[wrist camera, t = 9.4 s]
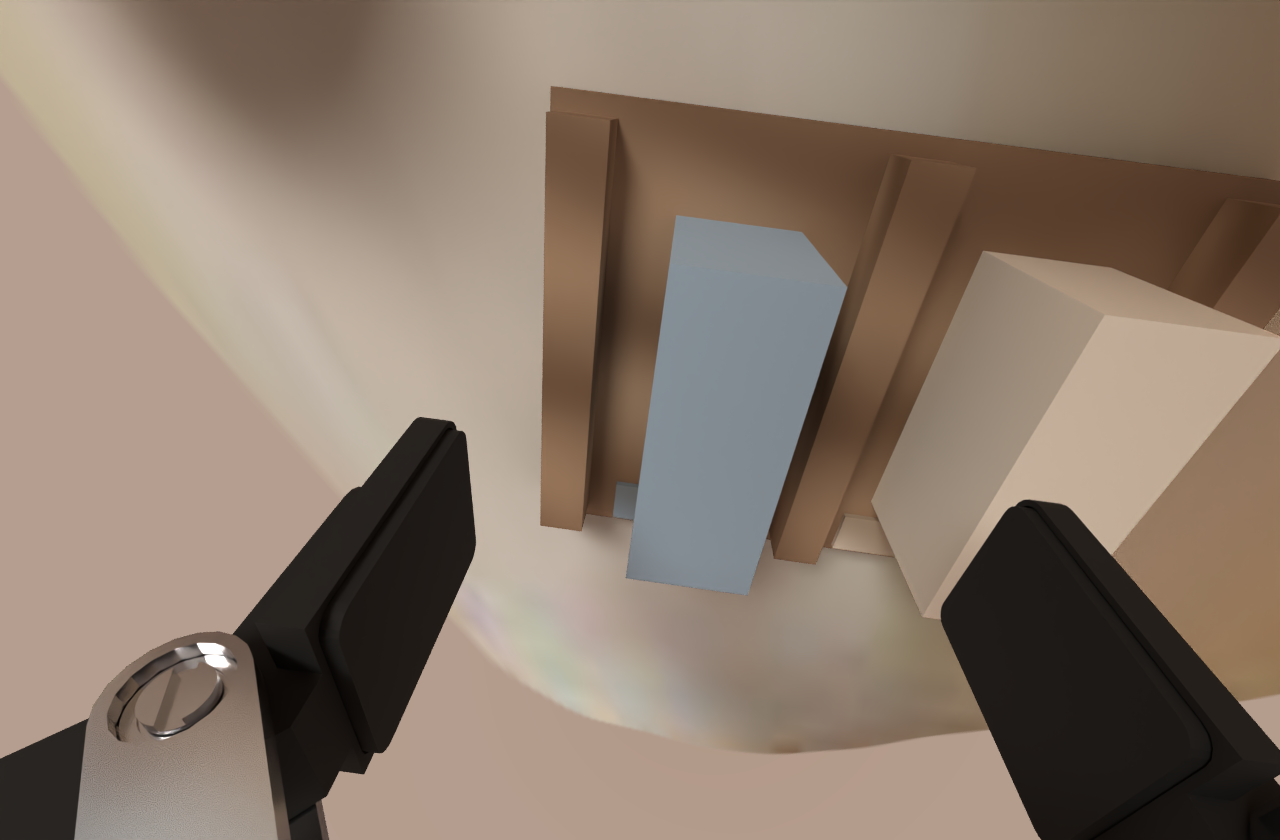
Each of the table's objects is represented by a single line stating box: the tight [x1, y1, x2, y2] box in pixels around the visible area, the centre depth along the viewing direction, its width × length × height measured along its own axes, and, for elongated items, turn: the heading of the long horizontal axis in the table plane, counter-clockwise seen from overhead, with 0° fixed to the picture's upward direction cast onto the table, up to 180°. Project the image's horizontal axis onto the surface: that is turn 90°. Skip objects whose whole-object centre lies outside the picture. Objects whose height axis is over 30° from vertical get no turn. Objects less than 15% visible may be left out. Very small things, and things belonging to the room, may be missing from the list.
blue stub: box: [626, 215, 847, 595], centre depth 15 cm, size 9×4×5 cm, turn 174°
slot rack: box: [540, 86, 1280, 564], centre depth 17 cm, size 14×19×2 cm
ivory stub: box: [871, 251, 1280, 620], centre depth 15 cm, size 9×4×5 cm, turn 174°
